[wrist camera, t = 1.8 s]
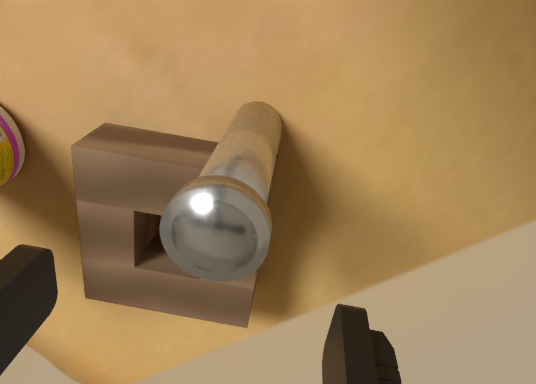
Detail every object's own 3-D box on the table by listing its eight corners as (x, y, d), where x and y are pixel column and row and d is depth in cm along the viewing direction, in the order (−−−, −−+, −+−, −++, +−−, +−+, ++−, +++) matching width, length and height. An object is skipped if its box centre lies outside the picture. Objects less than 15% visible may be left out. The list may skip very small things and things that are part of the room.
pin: (229, 89, 23) (160, 179, 13) (294, 100, 23) (277, 200, 13) (223, 149, 25) (158, 271, 15) (283, 160, 25) (261, 290, 15)
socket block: (105, 122, 25) (71, 145, 22) (278, 153, 25) (272, 181, 21) (111, 261, 30) (85, 297, 27) (254, 287, 30) (247, 328, 27)
